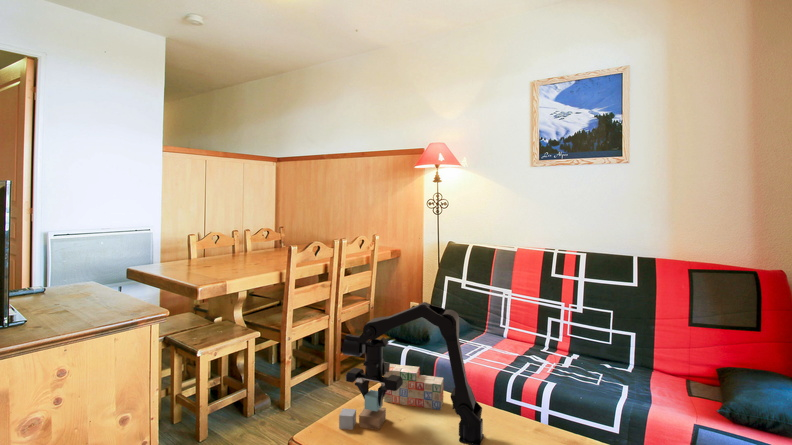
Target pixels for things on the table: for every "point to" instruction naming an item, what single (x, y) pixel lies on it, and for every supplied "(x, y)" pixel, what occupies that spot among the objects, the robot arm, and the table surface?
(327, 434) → the table surface
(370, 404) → the teal cube
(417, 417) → the table surface
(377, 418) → the walnut block
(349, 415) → the light grey cube
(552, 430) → the table surface
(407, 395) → the stack of blocks
